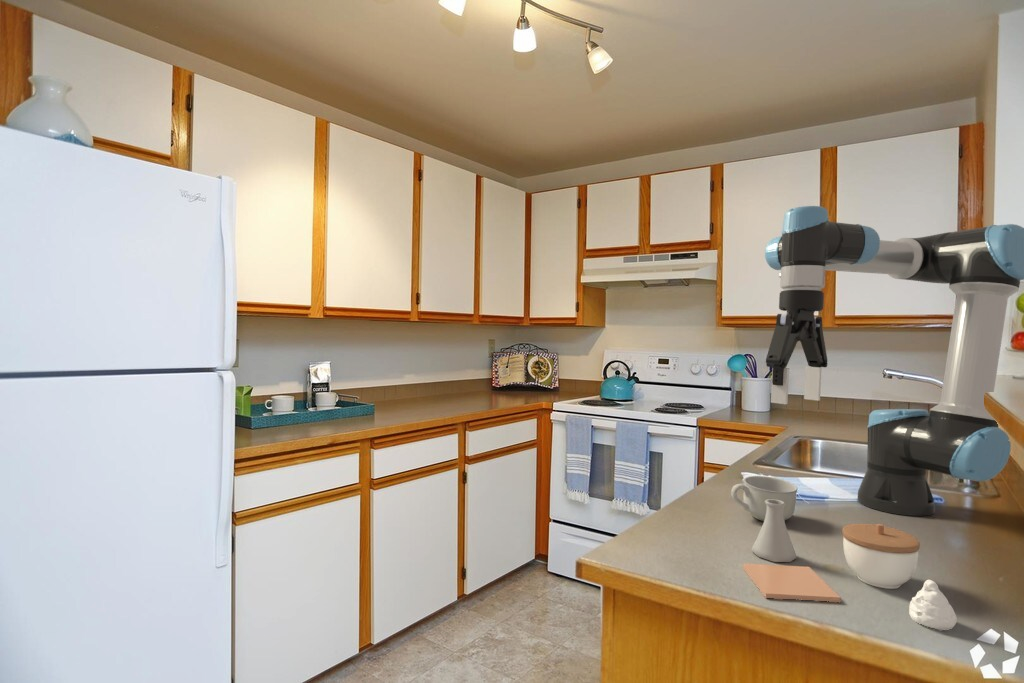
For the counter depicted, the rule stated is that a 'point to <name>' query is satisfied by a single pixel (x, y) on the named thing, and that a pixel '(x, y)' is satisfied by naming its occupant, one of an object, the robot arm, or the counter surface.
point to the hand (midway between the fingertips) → (796, 401)
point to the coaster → (790, 582)
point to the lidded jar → (880, 554)
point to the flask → (774, 535)
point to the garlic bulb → (932, 608)
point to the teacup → (765, 495)
